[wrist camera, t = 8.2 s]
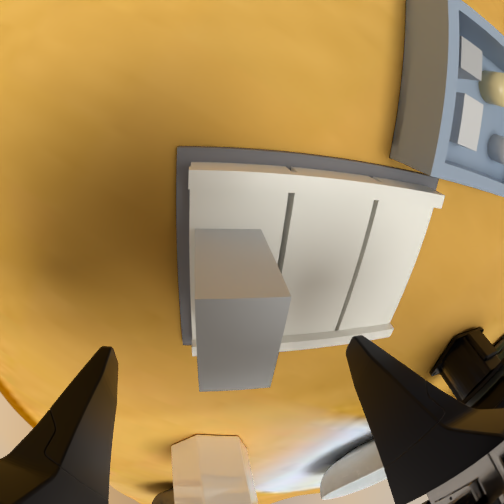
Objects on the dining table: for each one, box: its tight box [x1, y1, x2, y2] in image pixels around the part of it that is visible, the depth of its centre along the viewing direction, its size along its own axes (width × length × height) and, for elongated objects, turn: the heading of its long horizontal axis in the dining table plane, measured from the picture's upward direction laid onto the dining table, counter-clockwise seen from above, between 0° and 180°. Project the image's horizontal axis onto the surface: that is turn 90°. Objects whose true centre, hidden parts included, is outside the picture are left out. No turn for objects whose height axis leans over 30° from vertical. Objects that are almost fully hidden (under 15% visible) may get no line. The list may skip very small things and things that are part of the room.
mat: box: [176, 146, 439, 345], centre depth 16 cm, size 12×15×1 cm
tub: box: [390, 0, 504, 197], centre depth 11 cm, size 10×13×4 cm
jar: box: [171, 435, 258, 504], centre depth 22 cm, size 9×8×12 cm
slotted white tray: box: [188, 162, 445, 392], centre depth 14 cm, size 11×14×6 cm
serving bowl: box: [320, 439, 387, 500], centre depth 36 cm, size 21×21×7 cm
